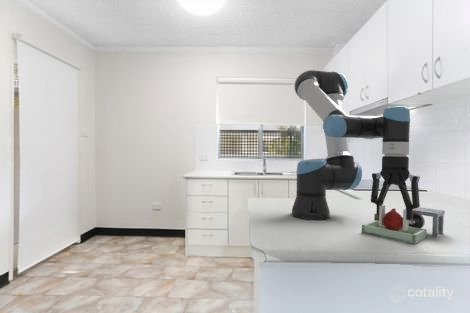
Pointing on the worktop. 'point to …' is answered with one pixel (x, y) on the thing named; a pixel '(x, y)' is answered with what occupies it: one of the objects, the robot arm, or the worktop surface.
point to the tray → (395, 232)
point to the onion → (393, 220)
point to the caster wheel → (419, 221)
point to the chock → (377, 217)
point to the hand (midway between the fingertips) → (393, 227)
